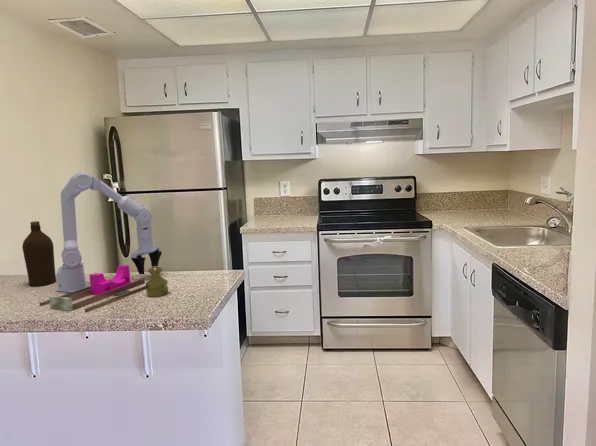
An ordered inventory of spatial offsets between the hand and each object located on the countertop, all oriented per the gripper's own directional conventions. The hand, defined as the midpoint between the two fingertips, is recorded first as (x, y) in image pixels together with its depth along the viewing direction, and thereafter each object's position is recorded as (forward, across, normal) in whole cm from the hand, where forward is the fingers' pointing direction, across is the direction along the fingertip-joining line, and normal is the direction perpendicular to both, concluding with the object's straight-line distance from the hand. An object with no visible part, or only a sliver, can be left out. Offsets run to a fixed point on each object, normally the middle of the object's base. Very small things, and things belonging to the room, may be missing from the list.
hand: (148, 271), depth 182 cm
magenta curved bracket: (+3, -17, +1) cm, 17 cm away
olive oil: (+3, -18, +38) cm, 42 cm away
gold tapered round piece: (+3, -18, -20) cm, 27 cm away
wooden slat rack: (+2, -24, 0) cm, 25 cm away
